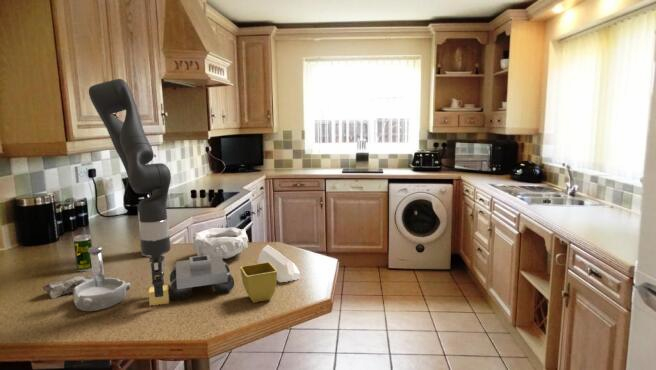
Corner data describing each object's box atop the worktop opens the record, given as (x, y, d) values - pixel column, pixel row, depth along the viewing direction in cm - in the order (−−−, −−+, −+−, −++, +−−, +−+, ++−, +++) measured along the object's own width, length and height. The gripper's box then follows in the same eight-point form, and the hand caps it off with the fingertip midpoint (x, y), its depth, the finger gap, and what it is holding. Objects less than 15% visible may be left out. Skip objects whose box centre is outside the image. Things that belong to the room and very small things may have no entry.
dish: (90, 317, 108) (88, 299, 107) (62, 306, 115) (60, 289, 114) (139, 297, 121) (138, 280, 120) (111, 288, 127) (109, 272, 127)
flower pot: (247, 307, 112) (246, 276, 111) (241, 295, 120) (239, 266, 119) (278, 301, 116) (277, 271, 114) (270, 290, 124) (269, 261, 122)
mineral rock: (100, 281, 133) (99, 268, 132) (101, 289, 126) (99, 276, 126) (46, 291, 126) (44, 278, 125) (43, 301, 119) (41, 286, 118)
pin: (94, 284, 118) (90, 246, 117) (108, 282, 119) (104, 245, 118) (90, 288, 115) (86, 250, 113) (105, 286, 116) (100, 248, 114)
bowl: (210, 248, 167) (208, 224, 165) (257, 250, 163) (256, 225, 161) (182, 265, 147) (180, 238, 145) (235, 268, 142) (233, 240, 141)
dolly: (170, 283, 130) (168, 254, 128) (228, 275, 136) (226, 247, 135) (170, 304, 115) (167, 271, 114) (235, 293, 121) (233, 262, 120)
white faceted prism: (308, 268, 131) (280, 249, 151) (289, 261, 127) (263, 242, 148) (298, 290, 130) (271, 267, 151) (279, 283, 126) (254, 261, 147)
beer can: (77, 268, 145) (74, 235, 144) (95, 265, 148) (91, 233, 146) (75, 273, 141) (72, 239, 139) (93, 270, 143) (90, 237, 141)
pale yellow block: (151, 300, 118) (149, 287, 117) (169, 297, 119) (168, 284, 119) (149, 306, 114) (148, 292, 114) (168, 303, 116) (167, 290, 115)
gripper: (141, 230, 119) (146, 283, 122) (138, 244, 106) (143, 303, 109) (169, 228, 122) (173, 279, 124) (169, 240, 109) (173, 298, 111)
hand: (159, 290), depth 117 cm, fingers open, 8 cm apart
